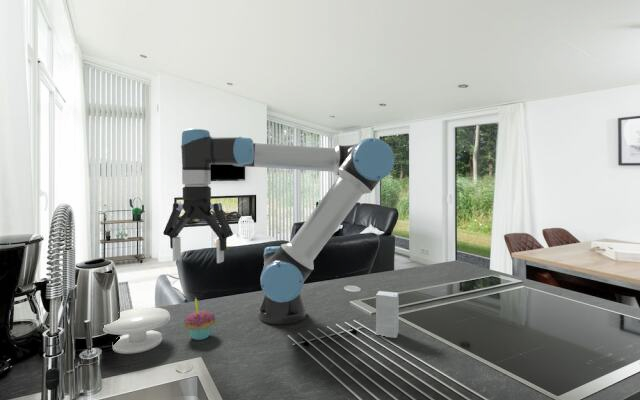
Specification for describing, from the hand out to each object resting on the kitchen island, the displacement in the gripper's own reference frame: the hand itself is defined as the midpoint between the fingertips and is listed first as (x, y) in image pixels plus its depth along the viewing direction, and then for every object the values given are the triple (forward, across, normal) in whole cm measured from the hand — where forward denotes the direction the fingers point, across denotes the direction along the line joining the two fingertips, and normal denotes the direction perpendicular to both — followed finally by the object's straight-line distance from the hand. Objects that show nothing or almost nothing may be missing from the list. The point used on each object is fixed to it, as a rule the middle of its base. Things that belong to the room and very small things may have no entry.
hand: (198, 261), depth 105 cm
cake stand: (+22, +14, +8) cm, 27 cm away
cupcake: (+22, 0, 0) cm, 22 cm away
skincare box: (+22, -52, -13) cm, 58 cm away
